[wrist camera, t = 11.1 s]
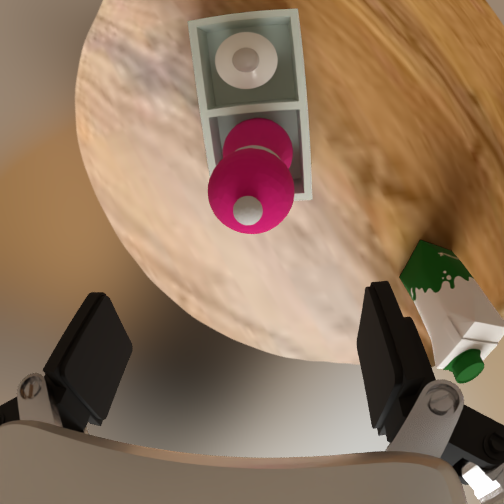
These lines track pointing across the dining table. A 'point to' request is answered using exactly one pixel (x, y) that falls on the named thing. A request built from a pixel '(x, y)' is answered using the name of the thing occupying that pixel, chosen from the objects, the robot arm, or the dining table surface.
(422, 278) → the milk carton
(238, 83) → the salt cellar
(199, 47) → the grey divided tray
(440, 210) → the dining table surface
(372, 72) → the dining table surface
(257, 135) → the pepper mill
